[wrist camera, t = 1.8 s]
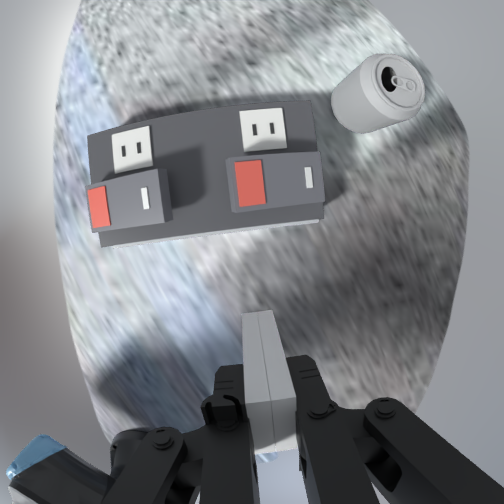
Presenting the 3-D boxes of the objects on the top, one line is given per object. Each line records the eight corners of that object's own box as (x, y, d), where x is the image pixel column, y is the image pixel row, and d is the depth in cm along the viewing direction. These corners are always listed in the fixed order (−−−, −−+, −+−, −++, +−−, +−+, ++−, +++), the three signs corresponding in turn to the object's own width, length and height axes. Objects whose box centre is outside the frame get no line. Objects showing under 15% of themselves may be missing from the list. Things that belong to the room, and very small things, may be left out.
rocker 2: (316, 200, 30) (326, 201, 28) (231, 211, 28) (236, 213, 26) (311, 153, 29) (320, 151, 27) (225, 160, 27) (229, 157, 25)
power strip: (317, 221, 36) (330, 227, 31) (115, 247, 35) (98, 257, 30) (303, 103, 33) (314, 91, 27) (101, 134, 32) (81, 128, 27)
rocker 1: (173, 219, 28) (163, 223, 26) (102, 229, 29) (91, 233, 27) (166, 169, 27) (156, 168, 25) (96, 185, 28) (84, 186, 26)
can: (332, 74, 32) (369, 36, 20) (383, 92, 32) (432, 66, 21) (324, 125, 33) (362, 100, 22) (376, 141, 34) (429, 128, 22)
